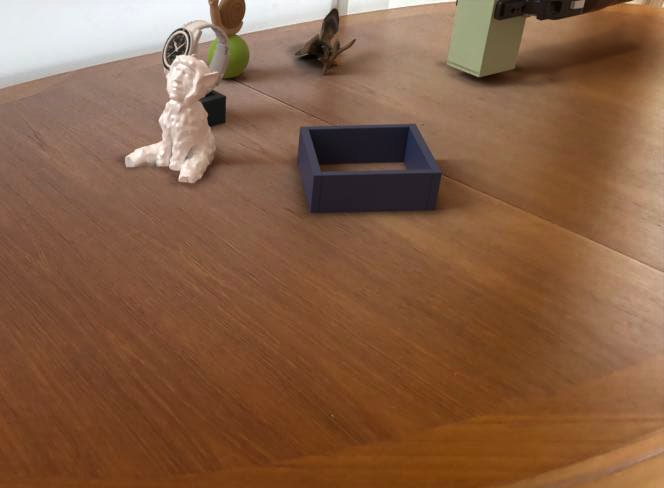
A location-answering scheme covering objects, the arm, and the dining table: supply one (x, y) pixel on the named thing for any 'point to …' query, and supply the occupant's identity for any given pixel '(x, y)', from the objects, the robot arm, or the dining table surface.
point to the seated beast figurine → (182, 123)
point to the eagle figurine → (326, 42)
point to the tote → (367, 186)
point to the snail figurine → (230, 34)
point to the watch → (187, 44)
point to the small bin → (484, 39)
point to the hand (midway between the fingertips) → (477, 4)
